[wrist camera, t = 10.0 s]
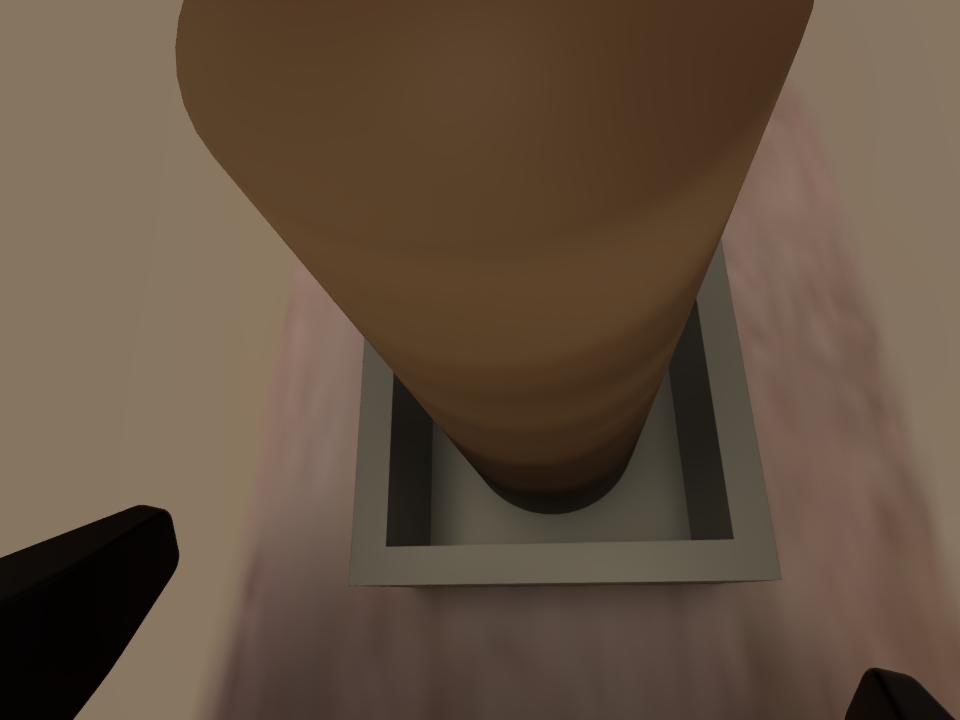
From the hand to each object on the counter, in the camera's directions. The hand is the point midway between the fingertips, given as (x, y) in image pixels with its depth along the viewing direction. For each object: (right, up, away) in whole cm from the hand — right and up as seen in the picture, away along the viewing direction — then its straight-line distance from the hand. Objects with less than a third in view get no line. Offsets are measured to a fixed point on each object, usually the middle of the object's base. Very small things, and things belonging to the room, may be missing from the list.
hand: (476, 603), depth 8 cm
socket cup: (+2, +1, +9) cm, 10 cm away
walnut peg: (+2, +1, +9) cm, 9 cm away
